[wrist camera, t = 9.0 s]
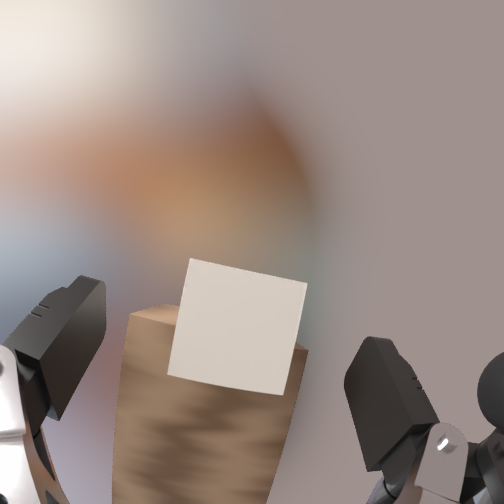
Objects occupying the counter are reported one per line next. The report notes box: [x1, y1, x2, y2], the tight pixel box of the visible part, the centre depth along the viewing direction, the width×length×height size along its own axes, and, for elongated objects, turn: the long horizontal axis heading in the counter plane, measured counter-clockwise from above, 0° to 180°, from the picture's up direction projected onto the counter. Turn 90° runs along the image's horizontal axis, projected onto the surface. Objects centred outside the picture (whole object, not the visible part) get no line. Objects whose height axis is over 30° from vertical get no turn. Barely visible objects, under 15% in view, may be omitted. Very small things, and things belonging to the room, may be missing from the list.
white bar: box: [167, 258, 307, 395], centre depth 17 cm, size 4×19×4 cm, turn 7°
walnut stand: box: [112, 304, 308, 504], centre depth 20 cm, size 10×12×32 cm
